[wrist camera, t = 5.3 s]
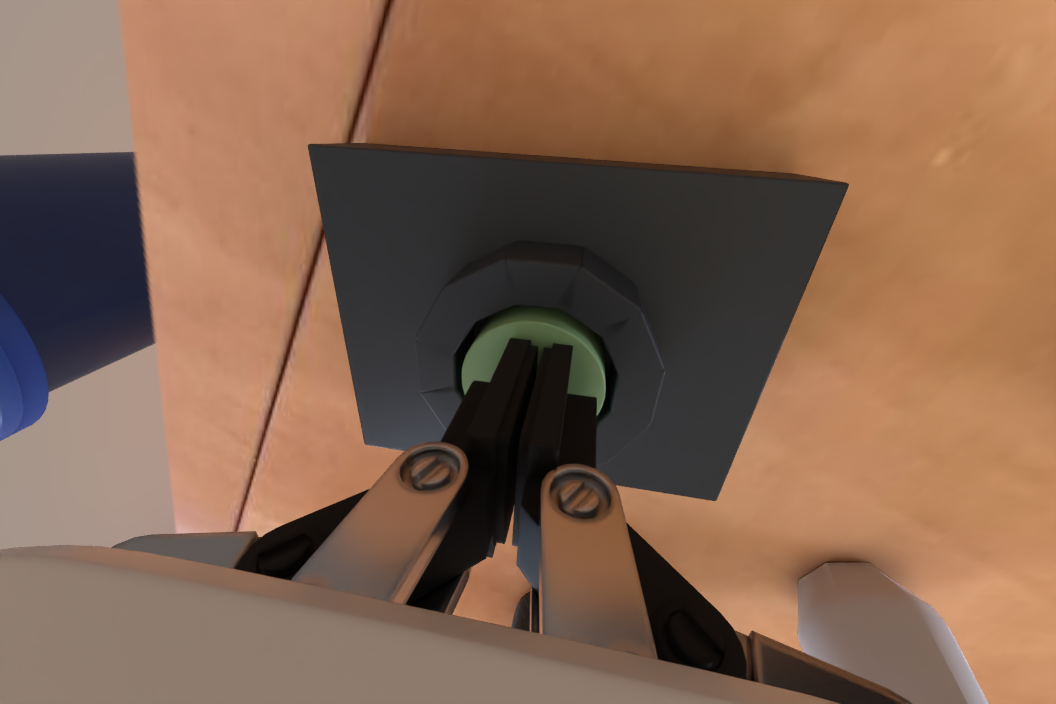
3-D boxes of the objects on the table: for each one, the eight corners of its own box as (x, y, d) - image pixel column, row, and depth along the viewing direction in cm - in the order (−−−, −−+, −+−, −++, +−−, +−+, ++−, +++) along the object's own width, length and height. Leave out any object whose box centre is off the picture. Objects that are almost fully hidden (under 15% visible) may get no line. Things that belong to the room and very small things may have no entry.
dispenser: (396, 402, 19) (335, 481, 14) (363, 143, 13) (250, 144, 9) (699, 447, 17) (732, 551, 13) (795, 173, 12) (908, 193, 8)
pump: (480, 395, 14) (462, 433, 12) (480, 286, 12) (459, 312, 10) (594, 411, 13) (594, 453, 12) (614, 301, 11) (617, 331, 10)
